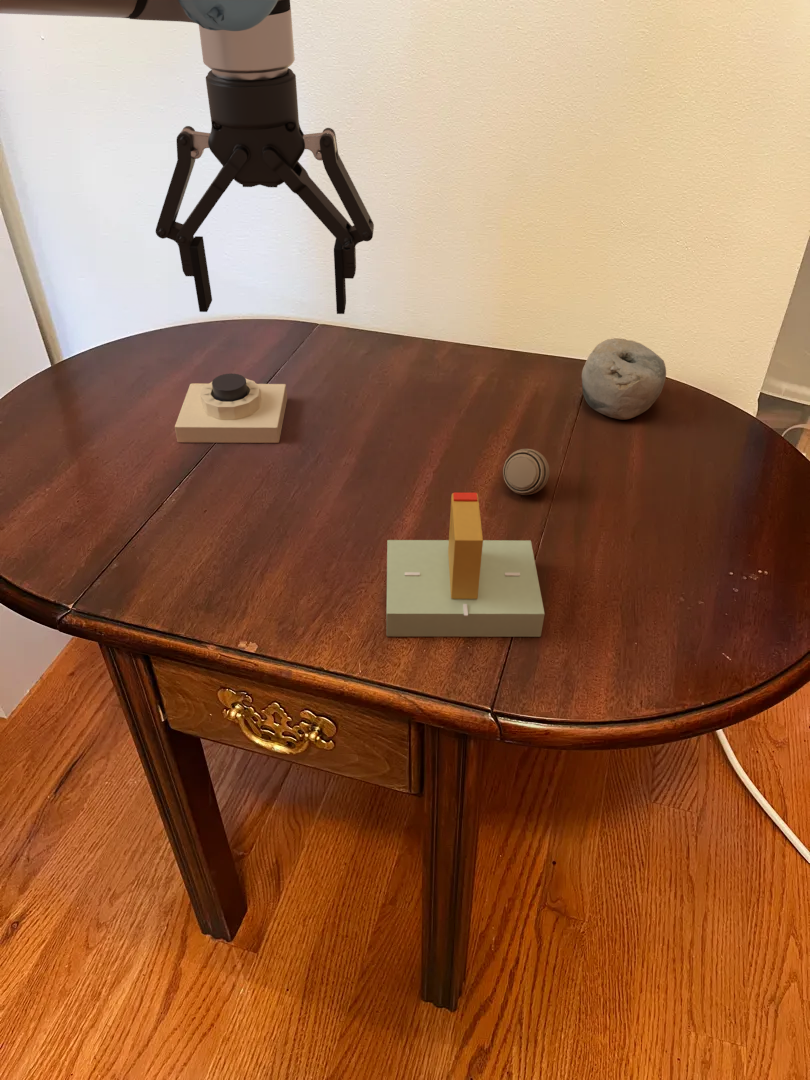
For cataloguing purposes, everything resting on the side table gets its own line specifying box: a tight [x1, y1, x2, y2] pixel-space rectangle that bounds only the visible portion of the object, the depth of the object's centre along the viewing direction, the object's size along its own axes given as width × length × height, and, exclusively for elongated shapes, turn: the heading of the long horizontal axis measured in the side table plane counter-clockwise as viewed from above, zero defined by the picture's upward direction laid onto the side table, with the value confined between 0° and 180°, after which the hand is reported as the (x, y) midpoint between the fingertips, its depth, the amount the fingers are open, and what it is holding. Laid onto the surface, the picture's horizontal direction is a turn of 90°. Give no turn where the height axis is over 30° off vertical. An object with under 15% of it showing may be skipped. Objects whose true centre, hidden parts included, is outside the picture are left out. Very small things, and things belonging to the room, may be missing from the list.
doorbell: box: [174, 377, 288, 444], centre depth 101 cm, size 12×10×4 cm
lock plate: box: [385, 539, 546, 638], centre depth 79 cm, size 14×11×3 cm
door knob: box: [502, 448, 550, 496], centre depth 91 cm, size 5×5×5 cm
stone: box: [581, 337, 667, 420], centre depth 104 cm, size 10×10×10 cm
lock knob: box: [448, 492, 484, 599], centre depth 75 cm, size 6×2×7 cm, turn 0°
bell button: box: [211, 372, 248, 402], centre depth 100 cm, size 4×4×2 cm
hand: (273, 307), depth 84 cm, fingers open, 13 cm apart
